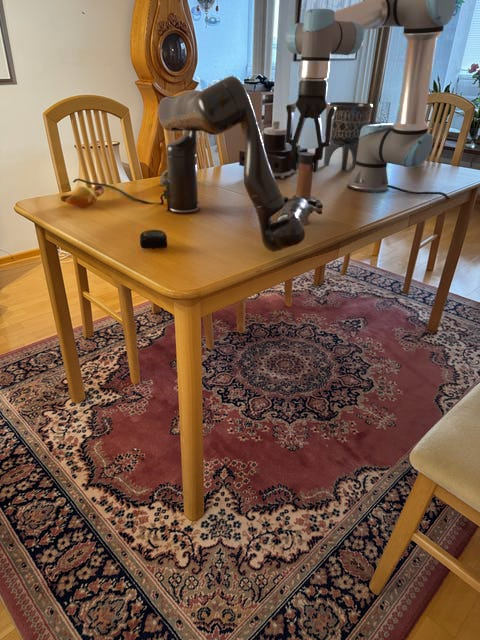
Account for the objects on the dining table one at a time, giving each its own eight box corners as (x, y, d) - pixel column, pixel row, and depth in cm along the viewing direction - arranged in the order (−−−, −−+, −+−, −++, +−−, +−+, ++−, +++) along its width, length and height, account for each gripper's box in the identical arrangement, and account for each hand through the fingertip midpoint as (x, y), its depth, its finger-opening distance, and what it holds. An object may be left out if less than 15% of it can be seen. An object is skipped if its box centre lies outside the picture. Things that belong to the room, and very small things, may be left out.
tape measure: (140, 252, 115) (139, 238, 113) (141, 242, 120) (140, 229, 119) (167, 251, 116) (166, 237, 114) (167, 241, 121) (166, 228, 120)
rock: (185, 178, 183) (185, 162, 179) (198, 183, 177) (198, 166, 174) (157, 184, 175) (156, 166, 172) (169, 189, 170) (168, 171, 166)
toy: (54, 197, 144) (75, 185, 156) (65, 216, 146) (84, 202, 159) (84, 187, 140) (103, 175, 153) (94, 206, 143) (111, 193, 156)
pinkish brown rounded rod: (296, 224, 137) (302, 157, 127) (291, 220, 140) (297, 154, 131) (310, 224, 138) (316, 157, 128) (305, 219, 141) (311, 154, 131)
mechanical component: (240, 120, 182) (283, 115, 202) (239, 174, 192) (280, 164, 212) (283, 126, 170) (325, 120, 190) (280, 183, 180) (320, 171, 200)
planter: (313, 167, 208) (319, 103, 195) (331, 160, 222) (338, 101, 209) (353, 173, 199) (362, 107, 185) (369, 166, 213) (379, 104, 199)
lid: (315, 164, 128) (316, 155, 126) (297, 163, 128) (297, 155, 127) (314, 160, 132) (315, 152, 131) (297, 159, 132) (298, 151, 131)
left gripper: (322, 203, 120) (329, 188, 135) (269, 198, 123) (281, 184, 138) (319, 230, 124) (326, 213, 138) (268, 225, 127) (280, 208, 141)
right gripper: (350, 80, 120) (338, 170, 132) (284, 78, 125) (279, 165, 137) (345, 81, 114) (334, 176, 126) (276, 79, 119) (271, 170, 131)
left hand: (303, 198), depth 138 cm, fingers closed on pinkish brown rounded rod, 4 cm apart
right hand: (305, 170), depth 131 cm, fingers closed on lid, 5 cm apart
